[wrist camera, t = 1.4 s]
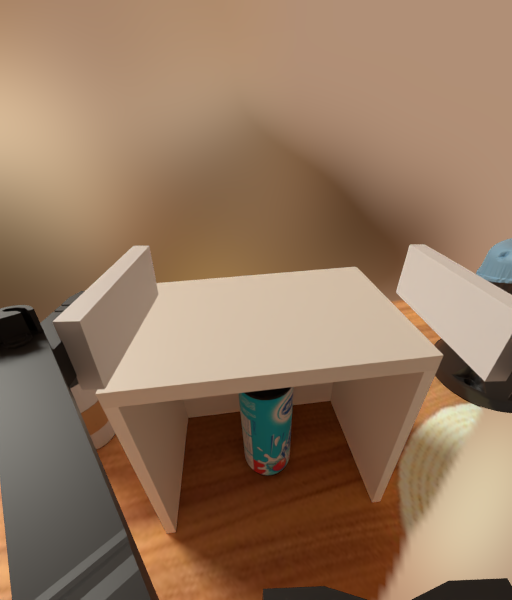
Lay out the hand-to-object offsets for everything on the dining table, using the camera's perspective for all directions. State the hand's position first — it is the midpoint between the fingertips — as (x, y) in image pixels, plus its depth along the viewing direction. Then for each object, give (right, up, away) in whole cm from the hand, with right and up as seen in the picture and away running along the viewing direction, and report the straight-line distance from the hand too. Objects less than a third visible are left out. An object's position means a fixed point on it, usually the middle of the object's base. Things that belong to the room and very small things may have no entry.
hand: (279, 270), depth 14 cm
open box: (0, -22, +22) cm, 31 cm away
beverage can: (0, -22, +23) cm, 32 cm away
